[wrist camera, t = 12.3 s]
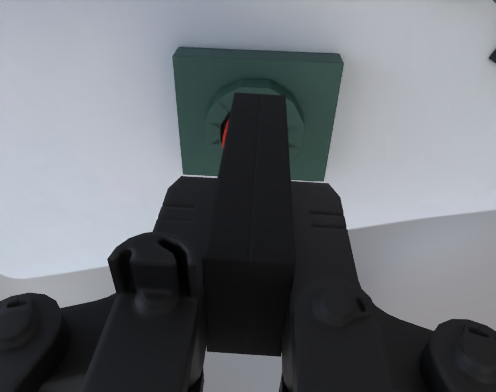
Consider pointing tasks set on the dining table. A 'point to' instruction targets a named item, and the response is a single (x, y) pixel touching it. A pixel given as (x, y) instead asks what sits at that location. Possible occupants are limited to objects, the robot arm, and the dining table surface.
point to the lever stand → (493, 57)
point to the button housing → (257, 82)
